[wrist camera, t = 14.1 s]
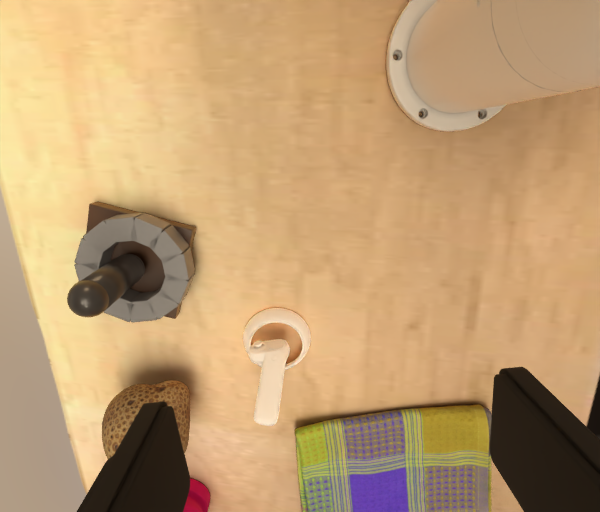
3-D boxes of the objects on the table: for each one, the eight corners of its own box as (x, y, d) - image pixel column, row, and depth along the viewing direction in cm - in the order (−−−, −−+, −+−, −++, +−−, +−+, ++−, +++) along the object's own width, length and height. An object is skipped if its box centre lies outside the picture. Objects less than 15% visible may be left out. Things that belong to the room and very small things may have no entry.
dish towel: (292, 413, 44) (292, 430, 42) (493, 398, 44) (505, 415, 42) (302, 520, 50) (303, 542, 47) (482, 507, 49) (493, 528, 47)
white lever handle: (241, 437, 39) (214, 421, 34) (257, 332, 46) (237, 305, 41) (310, 440, 37) (293, 423, 32) (316, 330, 44) (303, 302, 39)
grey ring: (105, 195, 35) (92, 199, 33) (208, 239, 36) (202, 245, 34) (77, 288, 38) (63, 297, 35) (174, 325, 39) (166, 336, 37)
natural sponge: (122, 417, 44) (74, 493, 35) (128, 354, 42) (79, 416, 32) (197, 430, 45) (171, 507, 35) (208, 368, 42) (183, 433, 33)
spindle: (97, 201, 37) (13, 225, 26) (196, 226, 38) (156, 261, 27) (86, 291, 39) (6, 348, 28) (179, 312, 40) (136, 376, 29)
